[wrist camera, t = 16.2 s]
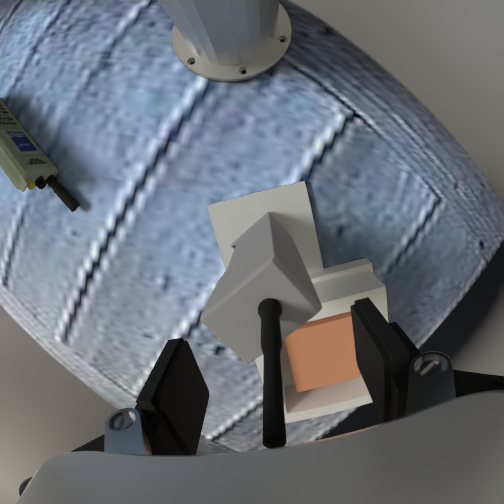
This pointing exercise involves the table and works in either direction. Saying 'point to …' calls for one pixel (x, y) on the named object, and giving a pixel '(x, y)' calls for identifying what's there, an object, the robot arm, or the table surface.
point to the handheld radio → (27, 159)
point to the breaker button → (323, 352)
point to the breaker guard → (333, 303)
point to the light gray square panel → (282, 209)
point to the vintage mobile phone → (263, 309)
